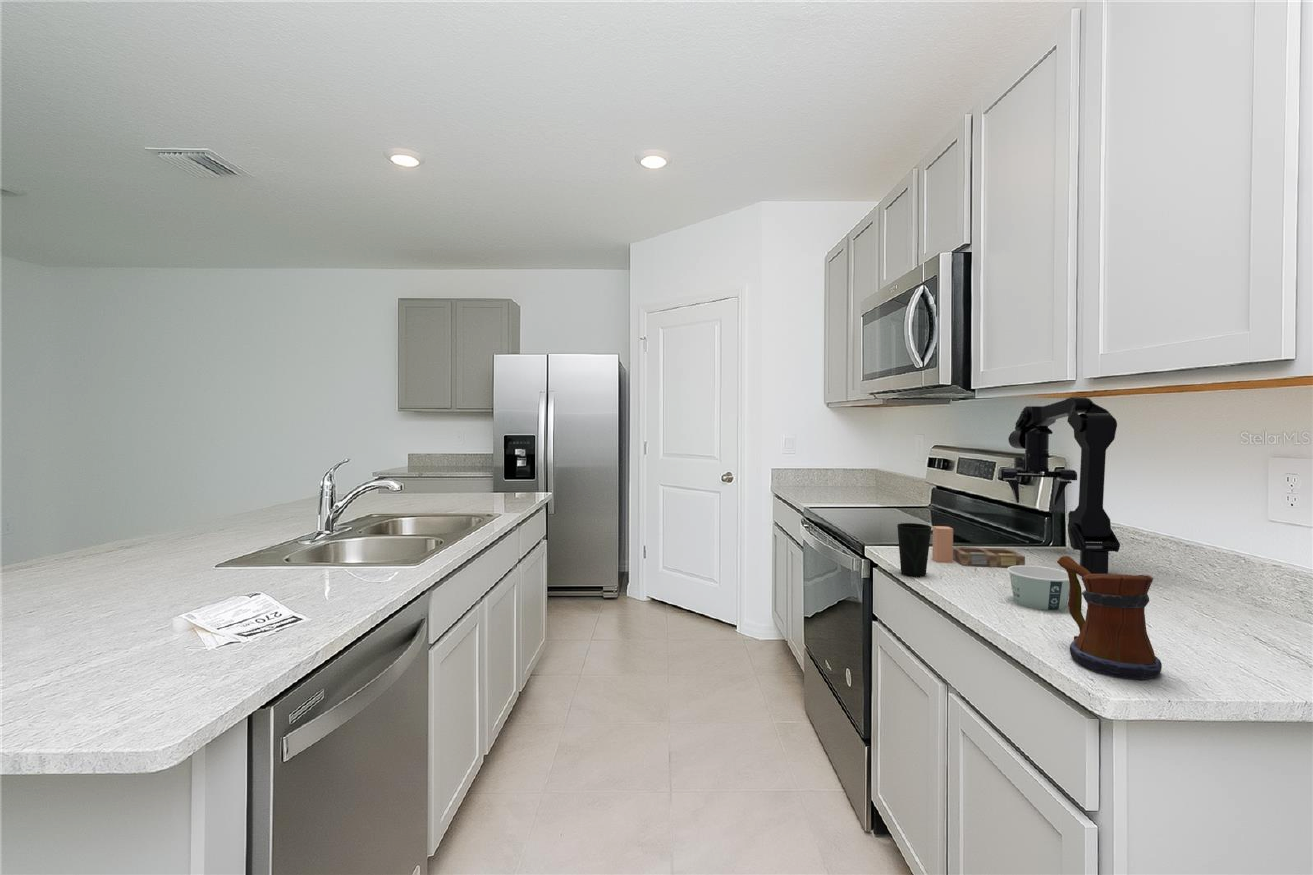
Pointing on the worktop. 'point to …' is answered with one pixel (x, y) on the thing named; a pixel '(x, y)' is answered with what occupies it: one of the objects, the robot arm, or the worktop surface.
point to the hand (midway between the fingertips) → (1035, 503)
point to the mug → (1111, 623)
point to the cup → (913, 548)
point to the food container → (1040, 587)
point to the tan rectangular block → (942, 544)
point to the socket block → (987, 557)
